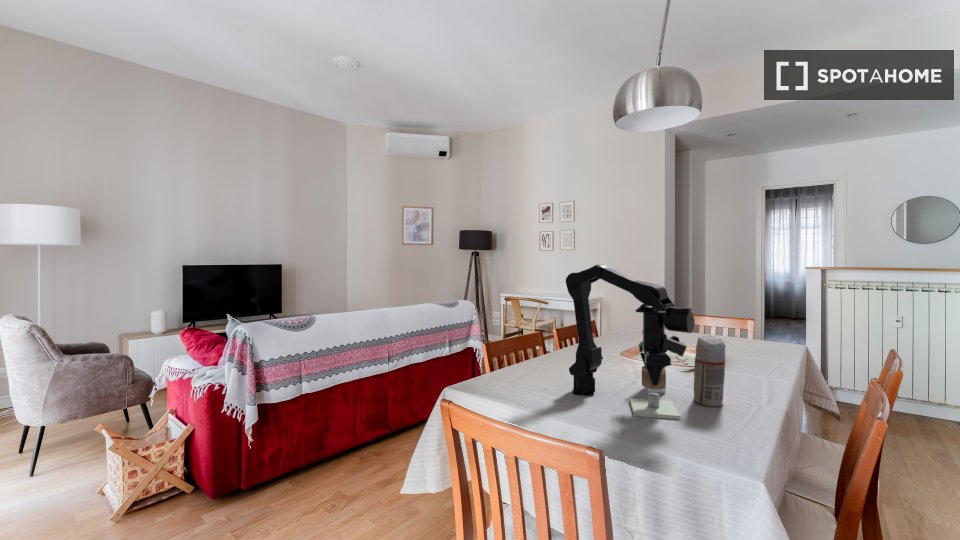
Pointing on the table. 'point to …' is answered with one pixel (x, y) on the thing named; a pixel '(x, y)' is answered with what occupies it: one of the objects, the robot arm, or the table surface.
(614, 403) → the table surface
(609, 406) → the table surface
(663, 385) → the cap
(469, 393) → the table surface
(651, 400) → the pale green flat slab
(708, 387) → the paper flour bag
